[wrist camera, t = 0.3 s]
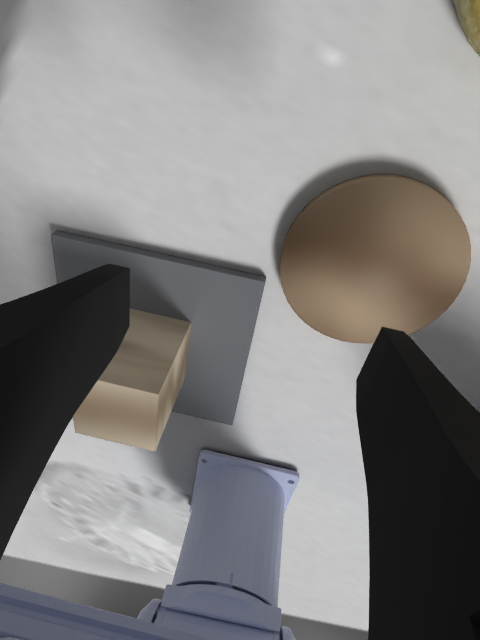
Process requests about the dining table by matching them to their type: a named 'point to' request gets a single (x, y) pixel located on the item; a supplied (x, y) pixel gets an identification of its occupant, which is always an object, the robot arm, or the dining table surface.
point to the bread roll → (470, 21)
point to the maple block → (138, 383)
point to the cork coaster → (374, 258)
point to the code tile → (183, 313)
